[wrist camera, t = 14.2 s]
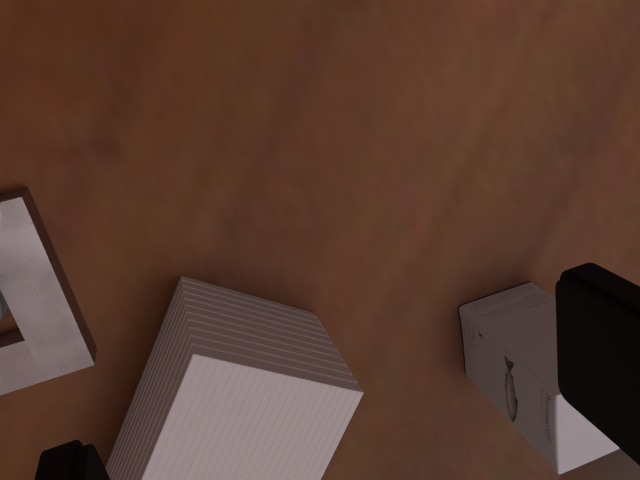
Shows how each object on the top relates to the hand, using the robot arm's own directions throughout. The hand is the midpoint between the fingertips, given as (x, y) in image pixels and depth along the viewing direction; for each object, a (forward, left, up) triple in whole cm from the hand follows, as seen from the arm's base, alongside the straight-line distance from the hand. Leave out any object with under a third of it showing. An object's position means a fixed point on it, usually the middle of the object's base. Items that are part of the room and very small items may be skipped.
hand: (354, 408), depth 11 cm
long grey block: (+25, -9, -29) cm, 39 cm away
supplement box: (+22, +20, -28) cm, 41 cm away
